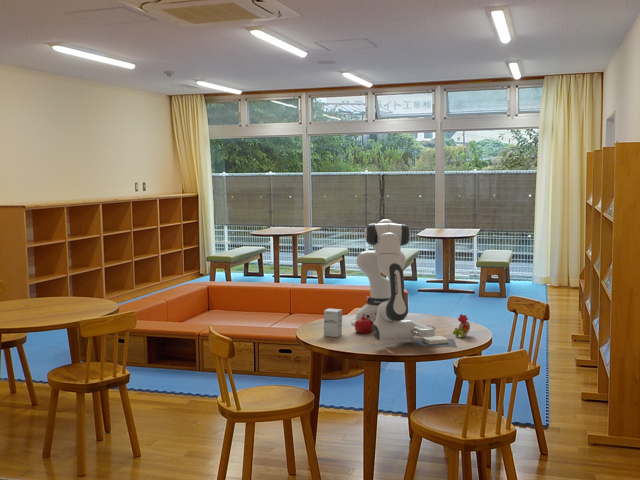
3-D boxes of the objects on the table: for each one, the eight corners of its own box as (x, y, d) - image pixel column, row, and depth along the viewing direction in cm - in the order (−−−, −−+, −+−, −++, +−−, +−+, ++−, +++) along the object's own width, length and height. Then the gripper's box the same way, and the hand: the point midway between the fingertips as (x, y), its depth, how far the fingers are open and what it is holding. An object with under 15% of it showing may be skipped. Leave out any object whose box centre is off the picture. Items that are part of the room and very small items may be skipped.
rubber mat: (412, 347, 300) (412, 346, 300) (411, 339, 316) (411, 337, 316) (457, 348, 298) (457, 347, 298) (453, 340, 314) (453, 339, 314)
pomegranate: (357, 335, 324) (357, 317, 323) (351, 330, 334) (351, 312, 333) (376, 334, 327) (376, 315, 326) (370, 329, 337) (370, 311, 336)
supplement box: (323, 336, 322) (323, 310, 321) (328, 333, 329) (328, 308, 328) (337, 337, 319) (337, 311, 318) (342, 334, 326) (342, 309, 325)
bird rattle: (459, 338, 327) (449, 333, 321) (465, 317, 329) (455, 312, 323) (470, 341, 322) (459, 336, 316) (476, 319, 324) (466, 314, 318)
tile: (428, 340, 303) (448, 339, 306) (421, 337, 309) (440, 335, 312) (428, 344, 303) (448, 343, 306) (421, 341, 309) (440, 339, 313)
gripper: (417, 327, 292) (445, 325, 297) (397, 318, 312) (423, 316, 316) (417, 341, 293) (444, 339, 297) (397, 331, 312) (423, 329, 317)
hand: (433, 327), depth 307 cm, fingers closed
